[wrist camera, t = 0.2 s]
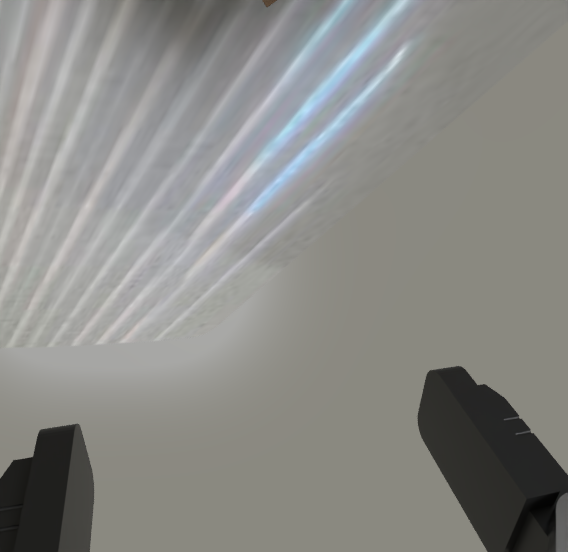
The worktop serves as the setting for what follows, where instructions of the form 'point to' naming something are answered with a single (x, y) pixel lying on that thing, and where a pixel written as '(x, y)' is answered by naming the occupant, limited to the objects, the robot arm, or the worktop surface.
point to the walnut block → (268, 2)
